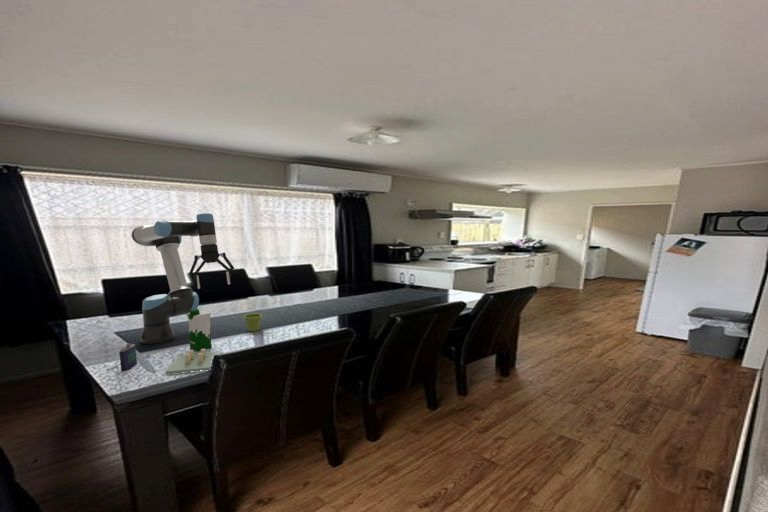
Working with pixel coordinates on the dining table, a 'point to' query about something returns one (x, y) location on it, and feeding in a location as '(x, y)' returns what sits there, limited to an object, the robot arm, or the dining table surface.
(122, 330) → the dining table surface
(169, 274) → the robot arm
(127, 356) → the flask
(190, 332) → the soya milk
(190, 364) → the peg stand
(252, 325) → the plant pot
